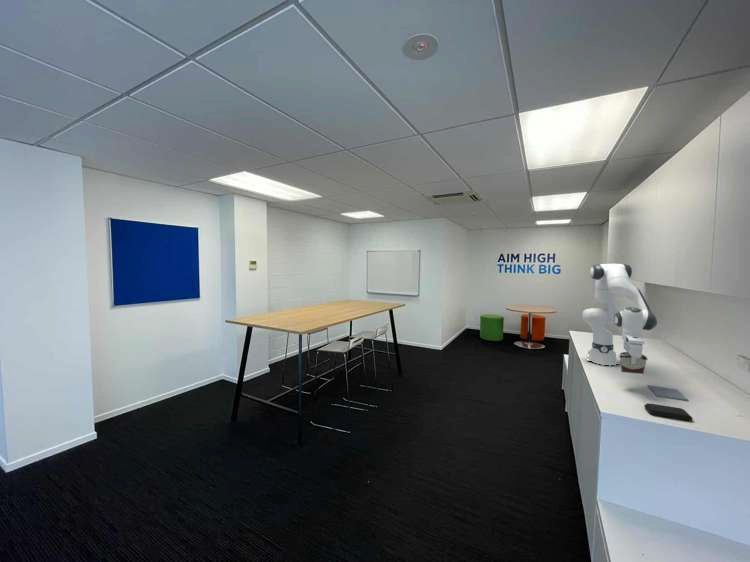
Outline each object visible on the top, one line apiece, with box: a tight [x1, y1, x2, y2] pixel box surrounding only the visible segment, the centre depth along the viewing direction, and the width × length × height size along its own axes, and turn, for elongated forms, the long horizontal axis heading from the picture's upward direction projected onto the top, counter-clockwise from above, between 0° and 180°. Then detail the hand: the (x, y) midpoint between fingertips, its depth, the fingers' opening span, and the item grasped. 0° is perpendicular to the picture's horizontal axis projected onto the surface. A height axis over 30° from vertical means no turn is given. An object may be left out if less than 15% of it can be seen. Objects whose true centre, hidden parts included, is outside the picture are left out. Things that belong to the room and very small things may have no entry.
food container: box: [618, 351, 649, 375], centre depth 165 cm, size 12×6×10 cm, turn 65°
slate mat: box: [647, 384, 690, 402], centre depth 158 cm, size 15×12×1 cm
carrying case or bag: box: [644, 403, 693, 422], centre depth 136 cm, size 11×3×15 cm
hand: (631, 361), depth 164 cm, fingers closed on food container, 5 cm apart
